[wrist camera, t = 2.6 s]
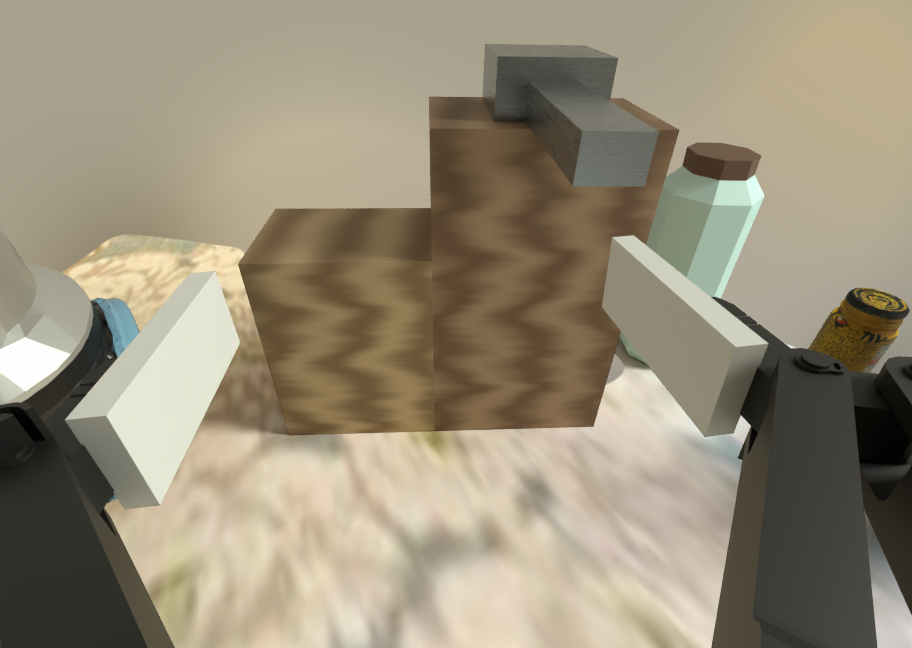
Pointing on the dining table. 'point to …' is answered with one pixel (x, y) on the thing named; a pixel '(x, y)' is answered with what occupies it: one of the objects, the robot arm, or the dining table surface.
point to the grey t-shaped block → (569, 110)
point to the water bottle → (706, 215)
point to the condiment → (861, 328)
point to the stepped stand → (451, 290)
